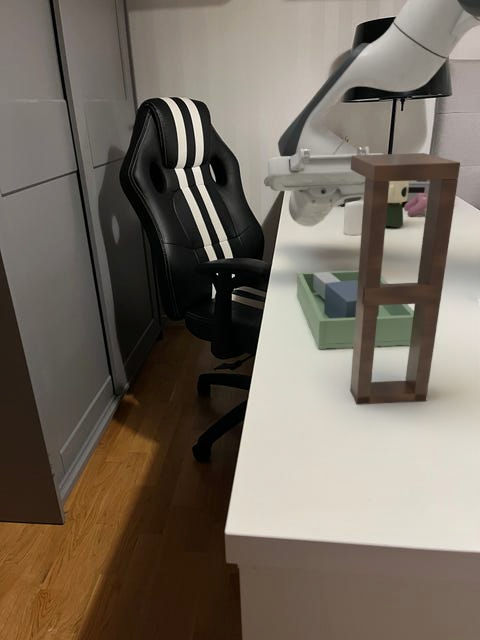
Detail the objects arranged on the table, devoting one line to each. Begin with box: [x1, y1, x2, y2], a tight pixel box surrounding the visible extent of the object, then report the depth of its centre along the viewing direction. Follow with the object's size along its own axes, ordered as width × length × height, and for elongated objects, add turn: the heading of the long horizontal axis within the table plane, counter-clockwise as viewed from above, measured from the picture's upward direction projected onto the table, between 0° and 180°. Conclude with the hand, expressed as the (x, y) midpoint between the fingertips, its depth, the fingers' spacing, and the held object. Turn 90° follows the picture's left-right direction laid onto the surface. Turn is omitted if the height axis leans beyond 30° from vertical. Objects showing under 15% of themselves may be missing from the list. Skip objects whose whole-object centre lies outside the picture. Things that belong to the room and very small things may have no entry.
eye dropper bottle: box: [342, 200, 364, 236], centre depth 124 cm, size 4×6×12 cm
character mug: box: [385, 181, 409, 228], centre depth 130 cm, size 11×7×13 cm, turn 157°
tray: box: [296, 269, 414, 350], centre depth 78 cm, size 14×21×4 cm, turn 2°
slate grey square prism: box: [313, 271, 379, 318], centre depth 78 cm, size 5×16×5 cm, turn 13°
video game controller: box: [403, 193, 428, 217], centre depth 144 cm, size 10×5×7 cm, turn 170°
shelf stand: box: [349, 152, 461, 405], centre depth 55 cm, size 8×9×26 cm
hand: (335, 151), depth 79 cm, fingers open, 8 cm apart
